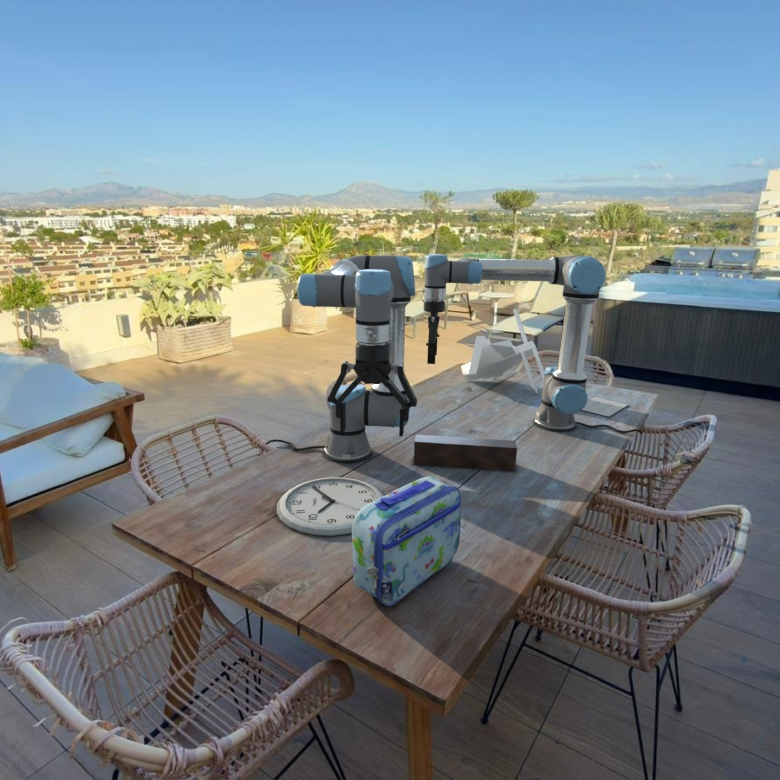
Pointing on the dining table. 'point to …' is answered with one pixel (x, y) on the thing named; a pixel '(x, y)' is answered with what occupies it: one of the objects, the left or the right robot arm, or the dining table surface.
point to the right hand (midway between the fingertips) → (432, 359)
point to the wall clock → (325, 505)
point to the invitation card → (603, 406)
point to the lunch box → (405, 538)
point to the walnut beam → (465, 452)
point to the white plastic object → (501, 357)
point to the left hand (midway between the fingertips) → (372, 432)
